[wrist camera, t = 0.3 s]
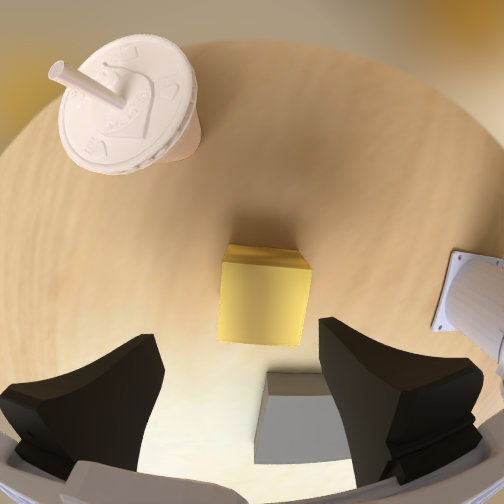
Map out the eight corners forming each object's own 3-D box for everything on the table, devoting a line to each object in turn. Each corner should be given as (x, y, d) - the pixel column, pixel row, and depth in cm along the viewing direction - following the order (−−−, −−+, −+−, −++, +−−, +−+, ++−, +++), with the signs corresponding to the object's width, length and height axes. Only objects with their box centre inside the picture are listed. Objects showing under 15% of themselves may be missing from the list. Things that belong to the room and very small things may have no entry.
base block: (377, 368, 23) (390, 390, 20) (345, 437, 25) (352, 458, 22) (266, 369, 23) (268, 395, 19) (253, 440, 25) (254, 463, 22)
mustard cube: (297, 250, 20) (312, 269, 15) (288, 312, 21) (298, 346, 16) (229, 243, 20) (222, 261, 15) (224, 307, 21) (217, 340, 16)
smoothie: (165, 197, 19) (20, 224, 5) (122, 132, 18) (-23, 87, 4) (238, 144, 18) (211, 43, 4) (189, 80, 17) (110, -46, 3)
